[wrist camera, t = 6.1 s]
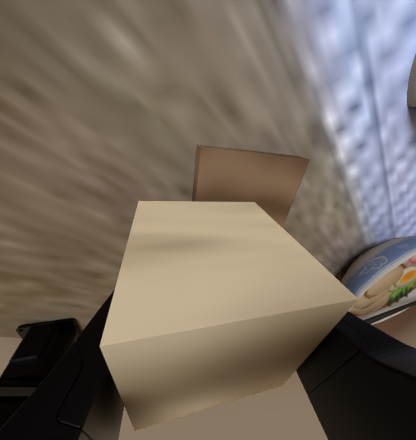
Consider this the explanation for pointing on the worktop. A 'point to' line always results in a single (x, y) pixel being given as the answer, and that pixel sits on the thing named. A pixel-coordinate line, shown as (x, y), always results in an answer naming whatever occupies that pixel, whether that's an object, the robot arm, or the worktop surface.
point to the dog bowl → (412, 86)
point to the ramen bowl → (383, 280)
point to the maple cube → (212, 308)
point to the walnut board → (248, 178)
